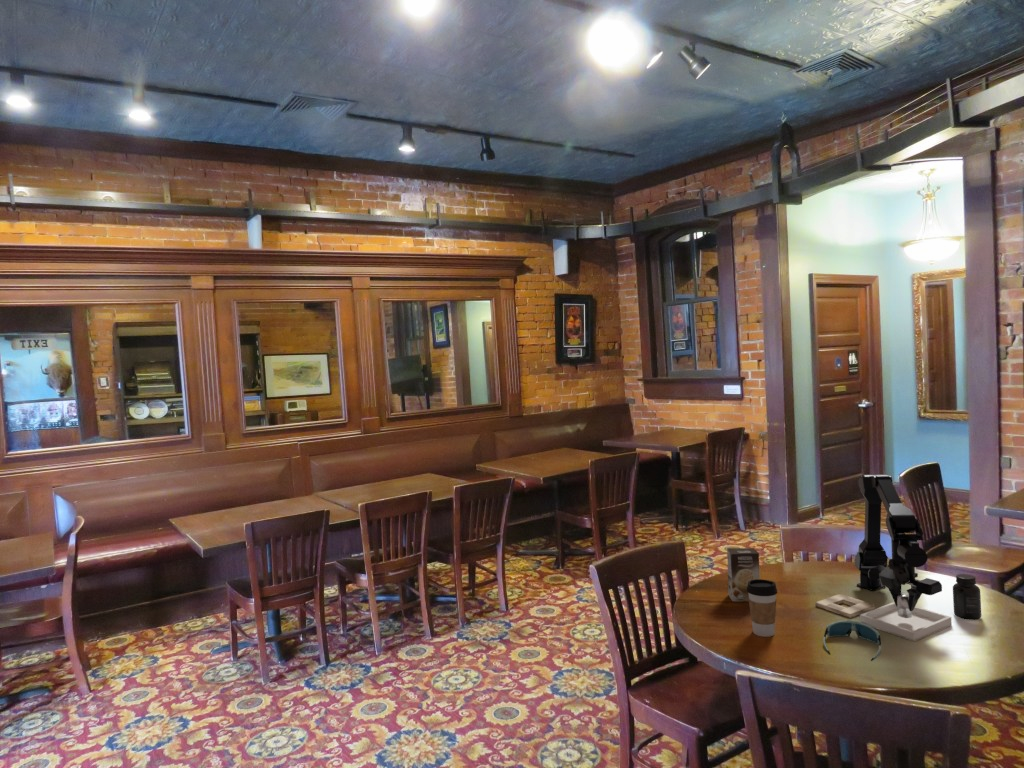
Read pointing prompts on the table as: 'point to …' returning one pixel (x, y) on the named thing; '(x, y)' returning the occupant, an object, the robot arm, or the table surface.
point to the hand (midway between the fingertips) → (904, 608)
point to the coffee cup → (762, 606)
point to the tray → (906, 622)
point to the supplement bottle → (966, 598)
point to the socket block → (852, 611)
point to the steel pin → (903, 605)
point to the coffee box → (741, 571)
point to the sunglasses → (847, 627)
